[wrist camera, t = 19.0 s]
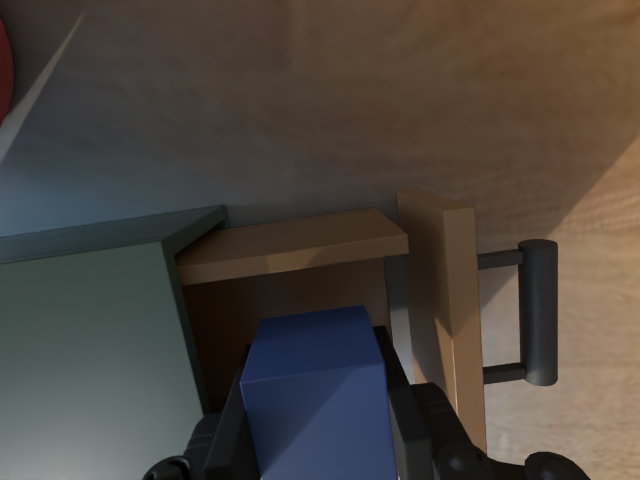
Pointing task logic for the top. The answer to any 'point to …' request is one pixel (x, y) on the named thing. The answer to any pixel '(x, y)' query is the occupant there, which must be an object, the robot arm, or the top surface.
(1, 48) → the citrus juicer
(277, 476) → the block
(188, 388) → the cabinet
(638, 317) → the top surface
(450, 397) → the drawer
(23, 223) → the top surface
